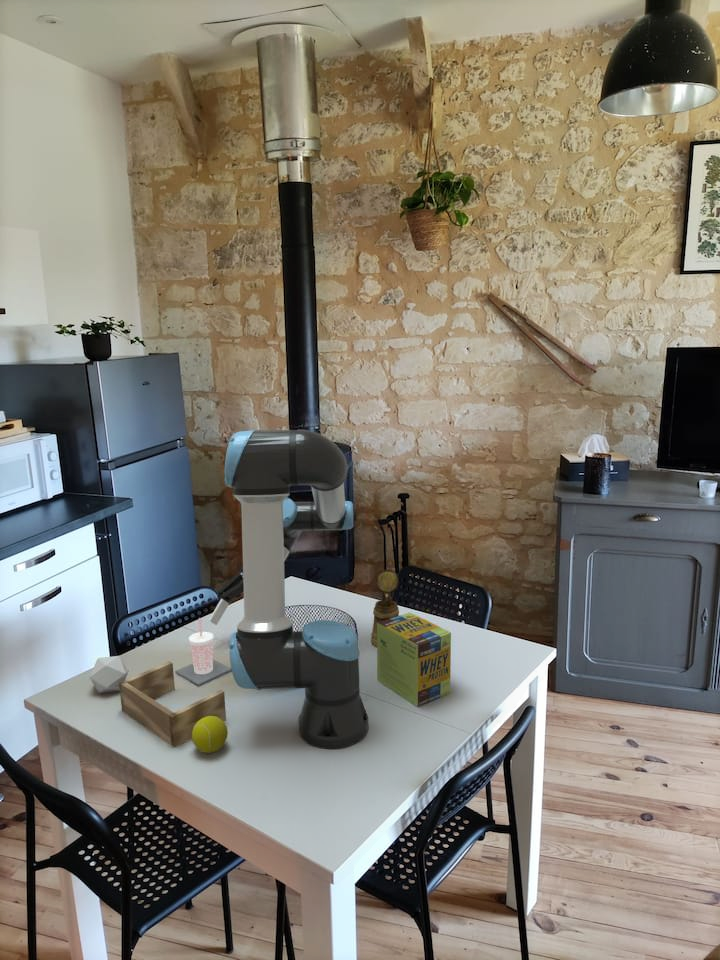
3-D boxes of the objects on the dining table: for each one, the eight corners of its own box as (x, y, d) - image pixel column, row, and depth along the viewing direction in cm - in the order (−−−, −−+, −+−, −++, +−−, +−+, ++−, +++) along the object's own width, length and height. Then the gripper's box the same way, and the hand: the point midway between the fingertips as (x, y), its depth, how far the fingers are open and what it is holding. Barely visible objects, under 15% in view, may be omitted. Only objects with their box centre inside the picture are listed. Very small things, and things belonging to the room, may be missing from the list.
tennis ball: (211, 735, 148) (208, 706, 146) (235, 745, 144) (233, 715, 143) (186, 752, 142) (183, 722, 141) (210, 763, 139) (208, 732, 137)
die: (112, 703, 162) (133, 665, 164) (78, 687, 162) (100, 649, 164) (118, 697, 170) (138, 661, 172) (86, 682, 170) (106, 646, 172)
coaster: (231, 670, 175) (231, 668, 175) (198, 686, 168) (198, 684, 168) (208, 658, 182) (208, 656, 182) (175, 673, 175) (175, 671, 174)
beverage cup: (188, 675, 172) (183, 623, 169) (195, 663, 178) (191, 613, 175) (212, 675, 172) (208, 623, 169) (218, 664, 178) (215, 613, 174)
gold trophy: (405, 628, 198) (405, 568, 194) (402, 649, 185) (401, 586, 181) (374, 626, 199) (373, 567, 195) (368, 648, 186) (367, 585, 182)
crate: (172, 687, 168) (169, 661, 166) (226, 720, 153) (224, 691, 152) (121, 710, 158) (118, 682, 157) (174, 747, 144) (171, 717, 142)
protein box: (418, 708, 157) (417, 645, 154) (376, 680, 169) (375, 622, 166) (451, 693, 163) (452, 632, 160) (409, 667, 175) (409, 610, 172)
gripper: (309, 576, 181) (268, 649, 174) (248, 556, 197) (208, 622, 190) (293, 562, 176) (251, 637, 169) (232, 543, 192) (190, 611, 185)
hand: (228, 630), depth 179 cm, fingers open, 13 cm apart
